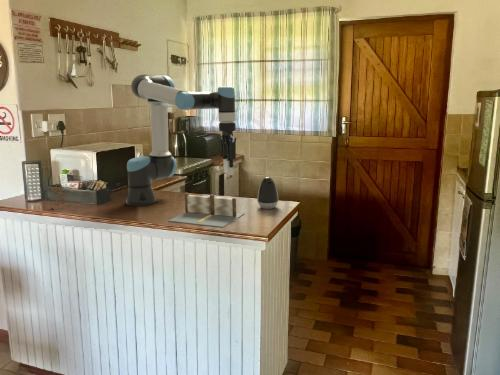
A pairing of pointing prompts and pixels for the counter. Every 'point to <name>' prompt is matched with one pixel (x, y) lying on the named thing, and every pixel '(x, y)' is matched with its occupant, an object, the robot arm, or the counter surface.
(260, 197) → the egg-shaped speaker
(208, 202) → the fixed fence section
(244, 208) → the counter surface
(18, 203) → the counter surface
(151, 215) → the counter surface
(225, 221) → the board
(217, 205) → the folding fence panel
